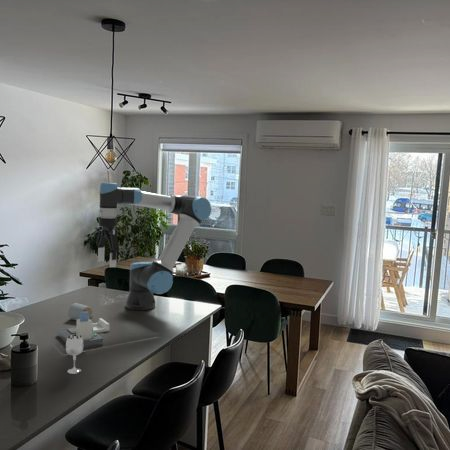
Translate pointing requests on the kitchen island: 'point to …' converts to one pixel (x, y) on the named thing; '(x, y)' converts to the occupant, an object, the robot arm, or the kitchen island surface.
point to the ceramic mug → (78, 311)
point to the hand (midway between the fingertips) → (106, 264)
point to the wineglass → (74, 350)
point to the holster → (100, 326)
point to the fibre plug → (84, 326)
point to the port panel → (87, 343)
